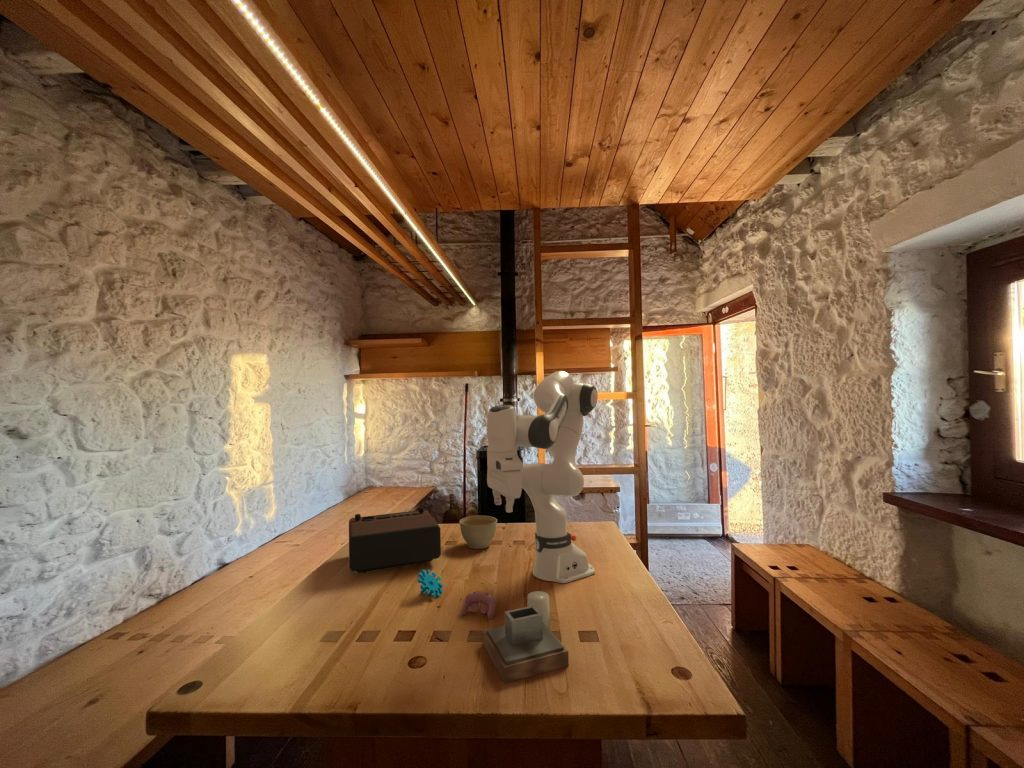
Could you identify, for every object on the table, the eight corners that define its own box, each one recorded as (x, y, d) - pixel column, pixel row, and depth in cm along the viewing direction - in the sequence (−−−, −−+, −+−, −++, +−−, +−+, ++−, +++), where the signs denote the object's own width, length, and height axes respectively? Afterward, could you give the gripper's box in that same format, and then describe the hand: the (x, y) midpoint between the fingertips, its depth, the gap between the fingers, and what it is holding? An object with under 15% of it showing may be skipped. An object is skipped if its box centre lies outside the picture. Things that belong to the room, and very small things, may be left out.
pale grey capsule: (544, 618, 121) (543, 589, 122) (553, 628, 116) (552, 598, 116) (524, 622, 119) (524, 593, 119) (533, 633, 114) (532, 602, 114)
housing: (505, 636, 105) (504, 611, 105) (534, 629, 108) (534, 605, 108) (512, 647, 100) (511, 621, 101) (542, 639, 103) (542, 614, 104)
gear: (431, 599, 131) (414, 571, 135) (419, 611, 132) (403, 583, 136) (451, 589, 141) (435, 564, 145) (440, 600, 142) (424, 575, 146)
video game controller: (495, 620, 124) (498, 593, 127) (490, 620, 120) (494, 592, 123) (464, 615, 127) (468, 590, 130) (458, 615, 123) (462, 588, 126)
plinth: (540, 631, 114) (539, 616, 114) (568, 665, 99) (568, 648, 100) (483, 644, 109) (483, 628, 109) (504, 683, 94) (504, 664, 94)
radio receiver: (433, 543, 187) (433, 502, 188) (447, 565, 162) (446, 517, 163) (348, 555, 174) (348, 511, 175) (349, 581, 149) (349, 530, 150)
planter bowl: (496, 552, 175) (496, 525, 175) (457, 552, 175) (457, 526, 175) (498, 539, 191) (497, 514, 191) (462, 539, 191) (462, 515, 191)
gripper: (481, 457, 133) (482, 501, 132) (503, 466, 114) (504, 518, 113) (500, 455, 135) (501, 499, 134) (525, 464, 116) (526, 515, 115)
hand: (503, 508), depth 124 cm, fingers open, 8 cm apart
